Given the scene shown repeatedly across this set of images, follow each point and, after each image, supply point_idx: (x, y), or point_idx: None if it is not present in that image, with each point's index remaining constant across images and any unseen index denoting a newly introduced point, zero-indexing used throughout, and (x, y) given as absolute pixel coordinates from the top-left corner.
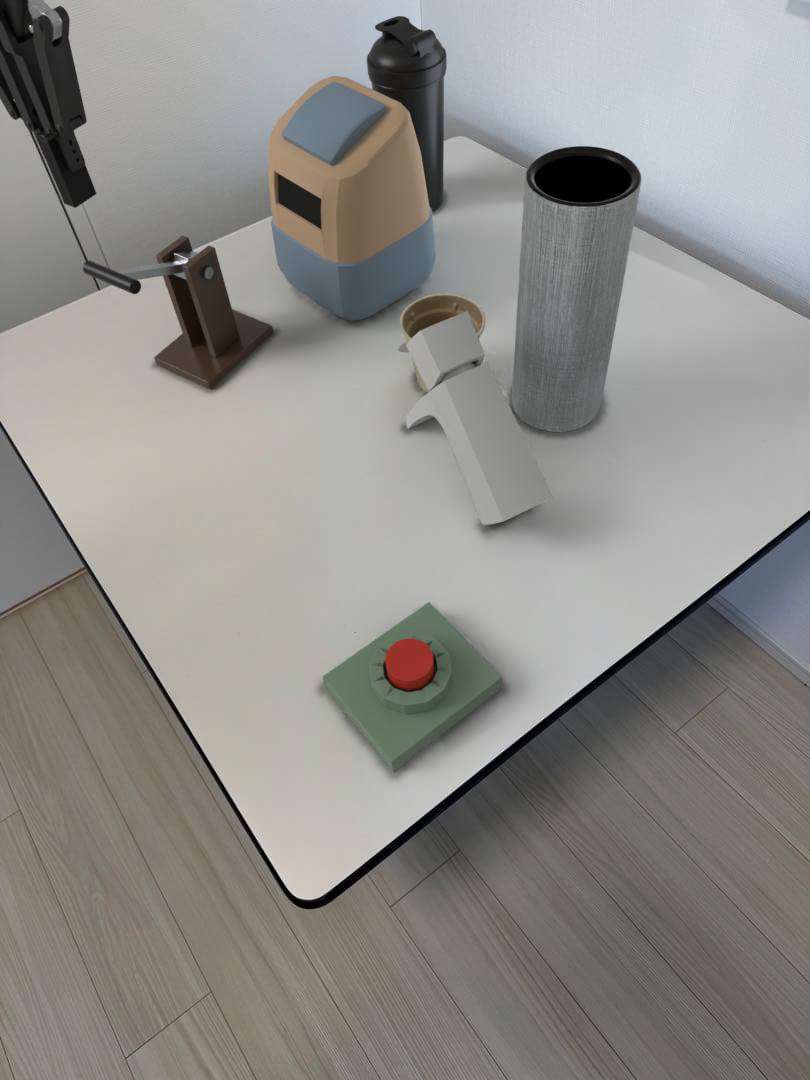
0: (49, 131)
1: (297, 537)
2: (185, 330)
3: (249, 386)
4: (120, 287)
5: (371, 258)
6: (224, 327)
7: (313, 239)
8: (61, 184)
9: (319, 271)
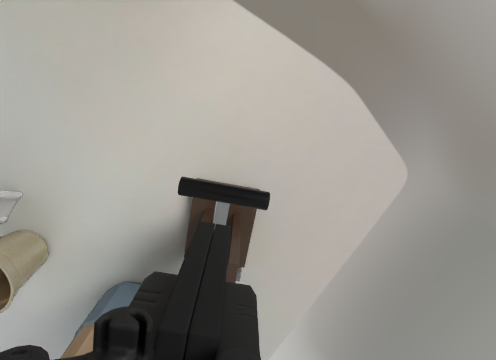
0: (110, 354)
1: (29, 53)
2: (235, 221)
3: (168, 192)
4: (201, 180)
5: (74, 336)
6: None
7: None
8: (208, 245)
9: None
